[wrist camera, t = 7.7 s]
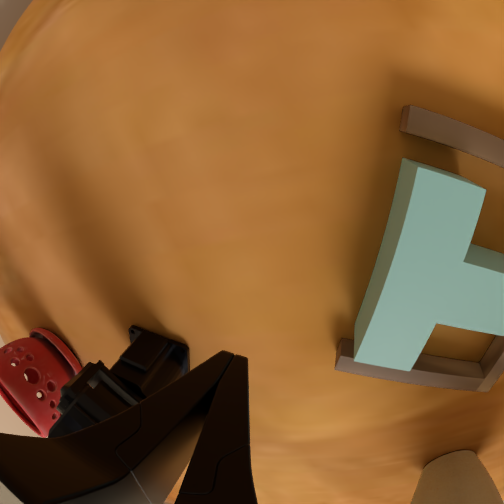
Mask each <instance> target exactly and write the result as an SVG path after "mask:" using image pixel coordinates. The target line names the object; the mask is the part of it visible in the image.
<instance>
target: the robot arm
mask: <svg viewBox="0 0 504 504" xmlns="http://www.w3.org/2000/svg"><path fill="white" fill-rule="evenodd" d="M129 335H130V341H131V345H130V346H129V347H128V348H127V349H126V350H125V351H124V352H123V353H122V355H121V356H120V359H119V360H118V361H117V362H116V363H115V364H114V365H113V366H112V368H111V369H110V370H109V369H108V368H107V367H106V366H104V363H103V362H102V361H101V360H99V361H98V362H97V363H96V364H94V363H91V362H89V363H88V364H87V365H86V366H85V367H84V368H83V369H82V370H81V371H80V372H79V373H78V374H77V375H75V376H74V377H73V378H72V379H71V380H69V381H68V382H67V383H66V384H65V385H64V386H63V387H62V388H61V389H60V394H61V398H60V400H59V402H60V403H59V404H58V406H57V407H56V409H57V410H58V411H59V412H60V413H61V414H62V415H61V416H60V417H59V419H58V420H57V421H56V422H55V423H54V425H53V426H52V427H51V428H50V430H49V433H48V438H40V437H30V436H20V435H12V434H5V433H0V504H163V503H164V501H165V500H166V498H167V496H168V495H169V493H170V492H171V490H172V489H173V487H174V485H175V484H176V482H177V481H178V479H179V477H180V476H181V474H182V472H183V471H184V469H185V467H186V466H187V464H188V463H189V461H190V463H189V466H188V469H187V471H186V474H185V477H184V480H183V482H182V485H181V488H180V490H179V494H178V496H177V498H176V501H175V503H174V504H258V503H257V498H256V493H255V488H254V483H253V476H252V469H251V454H250V421H249V381H248V358H247V357H244V356H241V355H237V354H236V355H234V354H233V353H231V352H228V351H224V350H222V351H220V352H219V353H217V354H216V355H214V356H212V357H211V358H209V359H208V360H206V361H205V362H203V363H202V364H200V365H199V366H197V367H196V368H194V369H193V370H191V371H190V357H189V348H188V347H187V346H186V345H184V344H182V343H179V342H176V341H173V340H170V339H168V338H165V337H162V336H160V335H157V334H154V333H152V332H149V331H147V330H144V329H141V328H139V327H136V326H134V325H132V326H131V327H130V328H129ZM92 387H93V388H94V389H93V388H92ZM190 459H191V460H190Z"/></svg>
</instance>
